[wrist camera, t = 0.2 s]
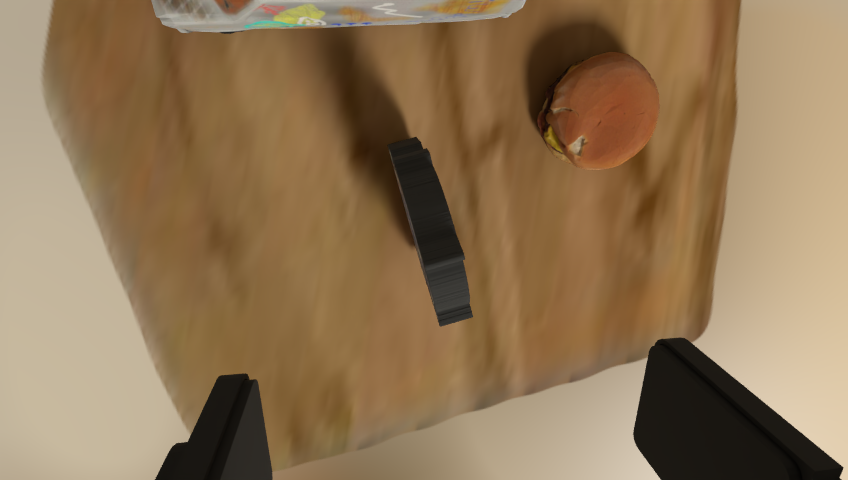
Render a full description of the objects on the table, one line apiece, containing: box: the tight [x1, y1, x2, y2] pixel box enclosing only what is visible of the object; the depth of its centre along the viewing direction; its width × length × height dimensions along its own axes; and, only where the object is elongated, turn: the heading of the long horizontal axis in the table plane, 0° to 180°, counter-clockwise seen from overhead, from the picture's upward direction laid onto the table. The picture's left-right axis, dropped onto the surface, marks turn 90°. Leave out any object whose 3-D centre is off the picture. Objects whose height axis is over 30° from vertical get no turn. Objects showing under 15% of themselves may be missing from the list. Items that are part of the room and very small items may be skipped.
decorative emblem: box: [388, 137, 473, 327], centre depth 34 cm, size 12×2×15 cm, turn 14°
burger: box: [537, 52, 660, 170], centre depth 38 cm, size 10×9×5 cm
